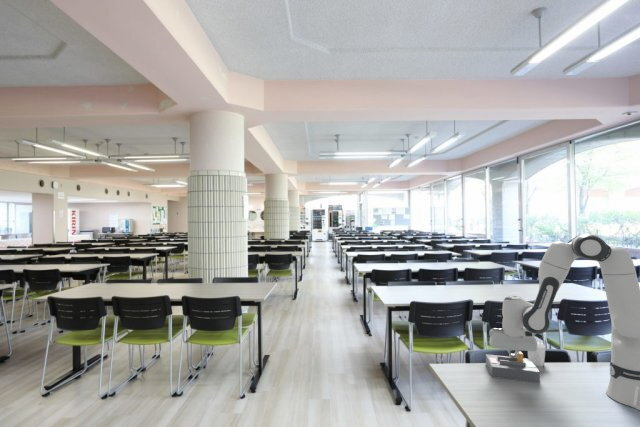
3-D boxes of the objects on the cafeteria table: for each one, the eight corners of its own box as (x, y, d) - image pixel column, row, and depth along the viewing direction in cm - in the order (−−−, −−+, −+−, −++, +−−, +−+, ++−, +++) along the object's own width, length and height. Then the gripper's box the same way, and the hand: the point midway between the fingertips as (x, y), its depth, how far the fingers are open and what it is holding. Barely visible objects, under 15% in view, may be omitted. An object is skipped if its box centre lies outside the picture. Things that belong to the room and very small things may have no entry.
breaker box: (529, 368, 166) (529, 355, 166) (539, 382, 153) (539, 368, 153) (485, 363, 172) (485, 351, 172) (492, 377, 158) (492, 363, 158)
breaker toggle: (521, 361, 163) (521, 351, 162) (523, 364, 160) (523, 354, 160) (516, 361, 163) (516, 351, 163) (518, 364, 160) (518, 353, 160)
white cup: (530, 358, 177) (530, 340, 177) (547, 364, 171) (547, 344, 171) (524, 363, 172) (524, 344, 172) (542, 368, 166) (542, 348, 166)
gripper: (490, 329, 162) (490, 358, 162) (538, 333, 156) (538, 363, 156) (487, 325, 168) (487, 352, 168) (533, 329, 162) (534, 357, 162)
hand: (512, 357), depth 162 cm, fingers closed
